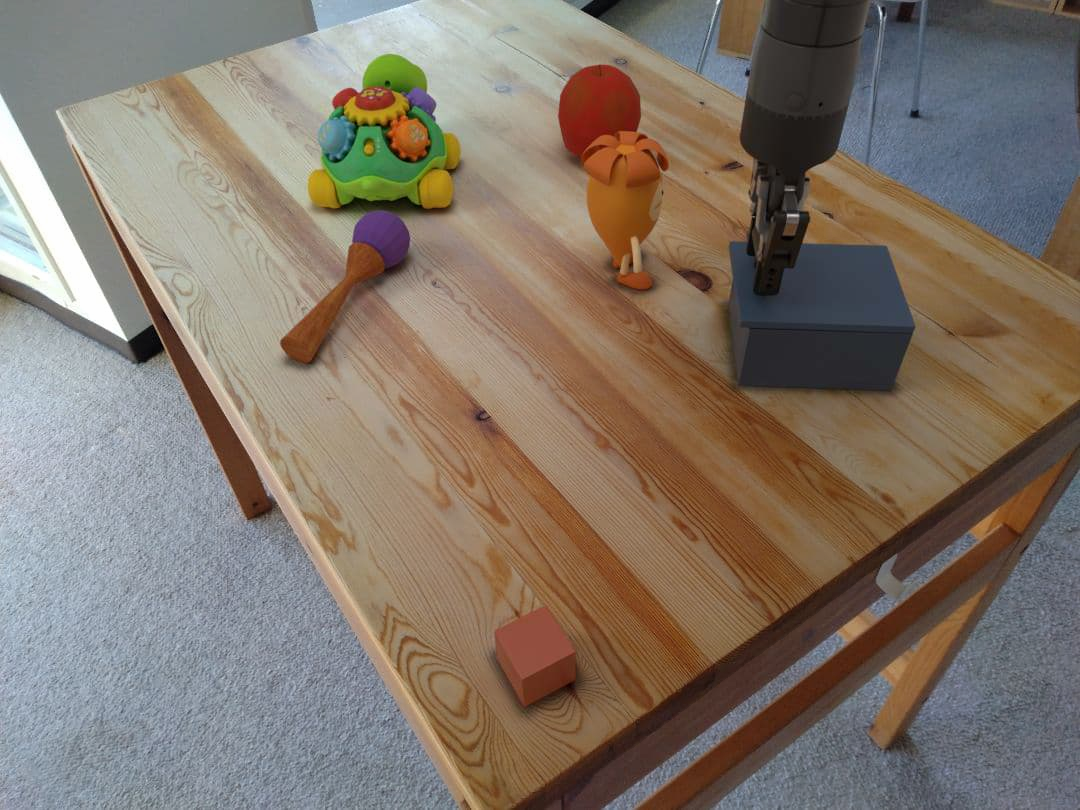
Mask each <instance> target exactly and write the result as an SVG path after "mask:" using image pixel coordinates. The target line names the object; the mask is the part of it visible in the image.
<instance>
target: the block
mask: <svg viewBox="0 0 1080 810" xmlns="http://www.w3.org/2000/svg"><path fill="white" fill-rule="evenodd" d="M493 634H494V642H495V650H496V658H497V661H498V663H499V665H500V667H501V669H502V670H503V672H504V673H505V676H506V677H507V679H508V681H509V683H510V685H511V686H512V688H513V690H514V692H515V693H516V695H517V697H518V699H519V701H520V703H521V704H522V706H523V707H524V708H526V707H527V706H530V705H531V704H533V703H535V702H537V701H539V700H541V699H543V698H544V697H546V696H548V695H550V694H552V693H554V692H555V691H557V690H559V689H561V688H563V687H565V686H567V685H569V684H570V683H572V682H574V681H576V680H577V679H576V675H577V674H576V673H577V671H576V669H577V668H576V667H577V651H576V649H575V647H574V646H573V644H572V643H571V641H570V640H569V638H568V637H567V634H565V632H564V630H563V629H562V627H561V626H560V624H559V623H558V621H557V619H556V618H555V616H554V614H553V613H552V611H551V610H550V608H549V606H548V605H547V604H545V605H542V606H541V607H538V608H536V609H535V610H532V611H531V612H529V613H527V614H524V615H523V616H521V617H519V618H516V619H515V620H513V621H511V622H508V623H507V624H505V625H503V626H501V627H499V628H497V629H494V630H493Z"/></svg>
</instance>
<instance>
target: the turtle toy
mask: <svg viewBox="0 0 1080 810" xmlns="http://www.w3.org/2000/svg"><path fill="white" fill-rule="evenodd" d="M361 86H362V89H361V91H359V92H358V91H357V89H355V88H353V87H345V88H344V89H342V90H340V91H339V92H337V93H336V94H335V95H334V97H333V98H332V101H331V104H332V107H333V109H334V110H333V111H332V112H331V114H329V117H328V120H325V121H324V122H323V123H322V124H321V125H320V127H319V129H318V133H317V140H318V144H319V146H320V147H321V156H320V162H321V165H322V168H319V169H314V170H313V171H312V172H311V173H310V174H309V177H308V180H307V181H308V182H307V191H308V196H309V199H310V201H311V202H312V204H314V205H315V206H316V207H318V208H319V207H321V208H331V209H339V208H341V207H342V206H344V205H348V204H350V203H351V202H352V201H353V200H354V199H355V198H358V199H363V200H366V201H368V202H369V201H370V202H373V201H387V200H388V201H396V200H398V199H400V198H404V197H407V198H408V199H409V200H410V201H411V202H412V203H413V204H415V205H418V206H422V208H424V209H427V210H431V209H433V208H438V209H440V208H447V207H448V206H449V205H451V203H452V199H453V198H454V197H453V196H454V191H455V186H454V183H453V179H452V176H451V175H450V173H449V172H448V171H447V170H453V169H455V168H457V166H458V165H459V161H460V158H461V152H462V151H461V150H462V149H461V146H460V142H459V139H458V137H457V136H456V135H455V134H453V133H449V132H443V129H441V127H440V125H439V124H438V123H437V122H436V121H437V118H436V115H434V112H435V110H436V108H437V102H436V100H435V99H434V98H433V97H432V96H431V95H430V93H427V92H428V80H427V76H426V73H425V72H424V71H423V69H422V68H421V67H420V66H418V65H416V64H414V63H412V62H411V61H410V60H409V59H407V58H405V57H404V56H403V55H399V54H395V53H385V54H381V55H380V56H377V57H376V58H374V59H373V60H372V61H371V62H370V63H369V64H368V66H367V67H366V69H365V71H364V73H363V76H362V83H361Z"/></svg>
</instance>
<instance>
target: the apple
mask: <svg viewBox="0 0 1080 810" xmlns="http://www.w3.org/2000/svg"><path fill="white" fill-rule="evenodd" d="M558 103H559V104H558V113H557V118H558V124H559V128H560V133H561V138H562V142H563V144H564V147H565V149H567V150H568V151H569V152H570V153H571V154H572V155H573V156H575V157H577V158H578V159H580V160H581V157H582V155H583V153H584V151H585V150H586V149H587V148H588V147H589V146H590V144H591V143H592V142H594V141H595V140H596V139H597V138H599V137H600V136H603V135H611V136H613V137H614V136H615V134H616V133H617V132H619V131H630V132H638V129H639V126H640V122H641V119H642V106H641V95H640V92H639V90H638V88H637V86H636V85H635V84H634V82H633V80H632V79H631V77H630V76H629V75H627V73H625V72H623V71H622V70H621V69H619V68H618V67H616V66H613V65H610V64H594V65H589V66H585V67H583V68H580V69H579V70H578V71H576V72H575V73H574V74H572V75H571V76H570V77H569V78H568V80H567V82H566V84H565V85H564V86H563V88H562V91H561V93H560V95H559V101H558ZM606 147H607V146H606V145H599V150H601V149H603V148H606Z"/></svg>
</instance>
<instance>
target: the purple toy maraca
mask: <svg viewBox="0 0 1080 810" xmlns="http://www.w3.org/2000/svg"><path fill="white" fill-rule="evenodd" d="M351 242H352V243H351V244H350V245H349V246H348V251H347V257H346V258H347V259H346V268H345V274H344V275H345V276H344V277H343V278H342V280H341V281H339V282H338V283H337V285H335V286H334V288H332V289H331V290H330V291H329V292H328V293H327V294H326V295H325V296H324V297H323V298H322V299H321V300H320V301H319V302H318V303H317V304H316V305H315V306H314V307H313V308H311V310H310V311H309V312H308V313H307V314H305V315H304V317H302V318H301V320H300V321H299V322H297V324H296V325H294V326H293V327H292V328H291V329H290V330H289V331H288V332H287V333H286V334H285V335H284V336H283V337H282V338H281V339H280V341H279V345H280V348H281V350H282V351H283V352H284V354H286V355H287V356H288V357H290V358H291V359H292V360H294V361H296V362H299V363H302V364H308V363H310V362H311V361H312V360H313V358H314V356H315V355H316V353H317V351H318V349H319V347H320V346H321V344H322V342H323V340H324V339H325V337H326V335H327V333H328V331H329V330H330V328H331V326H332V325H333V323H334V321H335V319H336V317H337V316H338V314H339V312H340V311H341V309H342V306H343V305H344V304H345V302H346V300H347V298H348V296H349V294H350V292H351V291H352V289H353V287H354V285H357V284H358V283H361V282H364V281H367V280H369V279H371V278H373V277H376V276H379V275H381V274H382V273H383V272H384V271H385V269H389V268H392V267H394V266H396V265H398V264H400V262H402V261H403V260H404V259H405V257H406V256H407V254H408V252H409V250H410V249H409V248H410V244H411V243H410V242H411V236H410V231H409V228H408V227H407V226H406V224H405V222H404V221H403V219H401V217H400V216H399V215H396V214H394V213H393V212H390V211H386V210H382V209H381V210H380V209H379V210H378V209H377V210H374V211H371V212H368V213H365V214H364V215H363V216H362V217H361V218H360V219H359V220H358V221H357V223H355V225H354V227H353V232H352V239H351Z"/></svg>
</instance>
